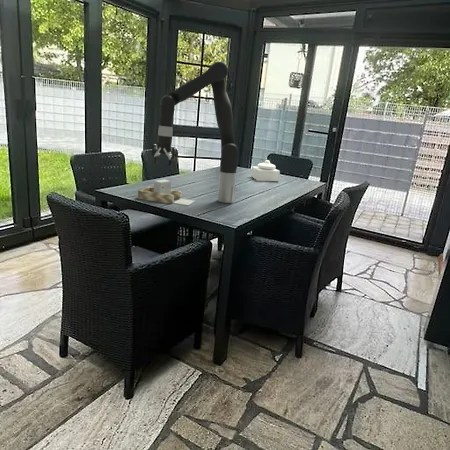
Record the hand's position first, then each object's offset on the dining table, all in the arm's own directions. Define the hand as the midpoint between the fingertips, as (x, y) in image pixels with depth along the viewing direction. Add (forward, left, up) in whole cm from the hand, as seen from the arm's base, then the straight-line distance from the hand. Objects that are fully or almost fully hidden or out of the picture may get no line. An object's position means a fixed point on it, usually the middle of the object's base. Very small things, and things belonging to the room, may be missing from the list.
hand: (163, 165), depth 200 cm
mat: (-13, -1, -19) cm, 23 cm away
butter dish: (-42, -106, -20) cm, 116 cm away
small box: (0, -1, -20) cm, 20 cm away
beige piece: (+2, -1, -19) cm, 19 cm away
